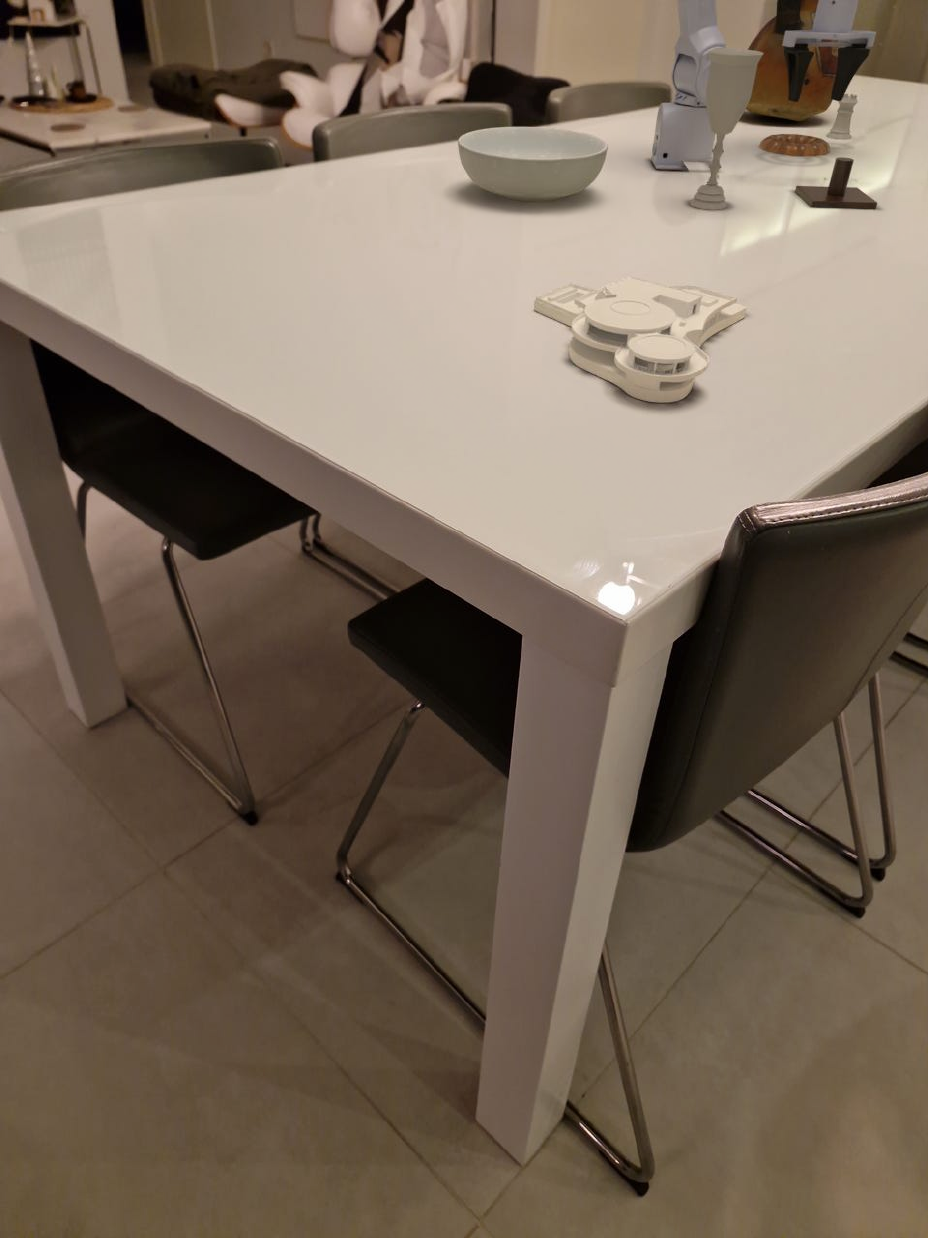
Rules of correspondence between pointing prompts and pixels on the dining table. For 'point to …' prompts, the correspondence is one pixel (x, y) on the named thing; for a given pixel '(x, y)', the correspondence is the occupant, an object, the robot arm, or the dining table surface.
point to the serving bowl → (532, 161)
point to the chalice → (725, 110)
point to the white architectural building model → (641, 332)
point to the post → (837, 190)
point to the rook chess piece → (843, 118)
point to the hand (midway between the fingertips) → (814, 100)
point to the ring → (795, 145)
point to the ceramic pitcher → (772, 74)
